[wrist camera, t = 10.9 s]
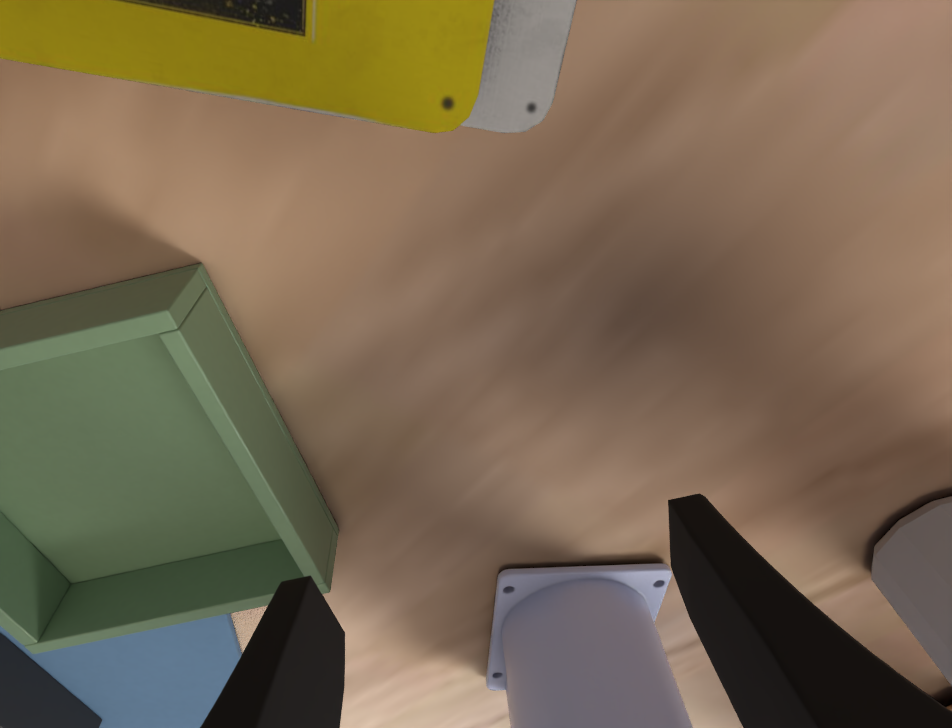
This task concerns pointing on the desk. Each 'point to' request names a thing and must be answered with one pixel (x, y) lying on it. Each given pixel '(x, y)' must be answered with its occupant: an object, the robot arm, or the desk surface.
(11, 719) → the remote
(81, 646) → the mat
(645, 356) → the desk surface
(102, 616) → the caddy
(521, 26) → the emergency button
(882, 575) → the water bottle
